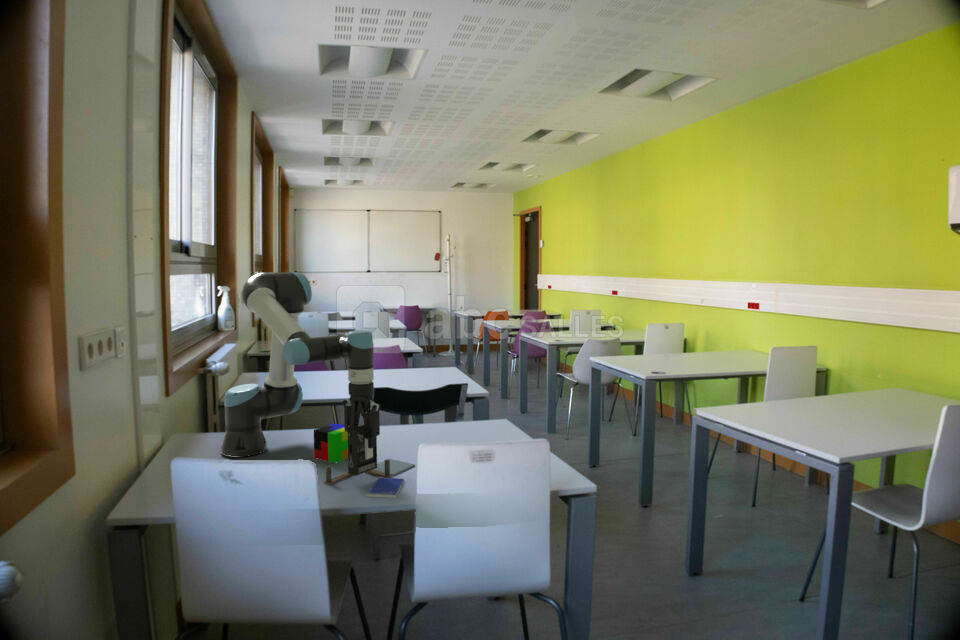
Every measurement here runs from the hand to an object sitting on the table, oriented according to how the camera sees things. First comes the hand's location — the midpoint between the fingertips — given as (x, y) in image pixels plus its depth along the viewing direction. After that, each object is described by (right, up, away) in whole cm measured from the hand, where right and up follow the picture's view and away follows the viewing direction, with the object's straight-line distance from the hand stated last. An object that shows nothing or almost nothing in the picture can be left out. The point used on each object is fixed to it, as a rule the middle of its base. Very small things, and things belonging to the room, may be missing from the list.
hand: (362, 456), depth 177 cm
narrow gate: (+3, -7, +6) cm, 10 cm away
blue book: (+8, -9, -6) cm, 14 cm away
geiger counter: (0, -4, 0) cm, 4 cm away
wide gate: (-6, -7, +4) cm, 10 cm away
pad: (+7, -7, +12) cm, 15 cm away
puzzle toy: (-14, -6, +23) cm, 28 cm away
